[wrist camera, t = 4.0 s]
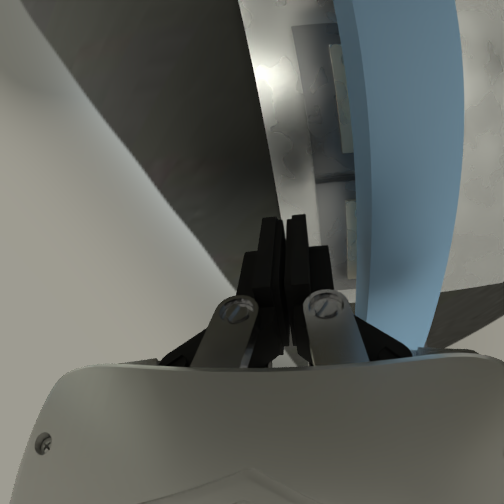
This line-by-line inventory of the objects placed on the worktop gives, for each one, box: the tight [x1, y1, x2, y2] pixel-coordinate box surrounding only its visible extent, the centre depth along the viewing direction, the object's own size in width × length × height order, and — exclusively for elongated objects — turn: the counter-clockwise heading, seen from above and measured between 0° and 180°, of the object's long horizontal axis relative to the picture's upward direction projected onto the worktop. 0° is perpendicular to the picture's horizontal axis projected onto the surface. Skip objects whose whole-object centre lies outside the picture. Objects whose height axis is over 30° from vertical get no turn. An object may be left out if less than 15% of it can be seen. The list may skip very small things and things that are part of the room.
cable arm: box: [333, 0, 464, 350], centre depth 10 cm, size 20×4×4 cm, turn 11°
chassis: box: [238, 0, 504, 303], centre depth 13 cm, size 20×16×5 cm
